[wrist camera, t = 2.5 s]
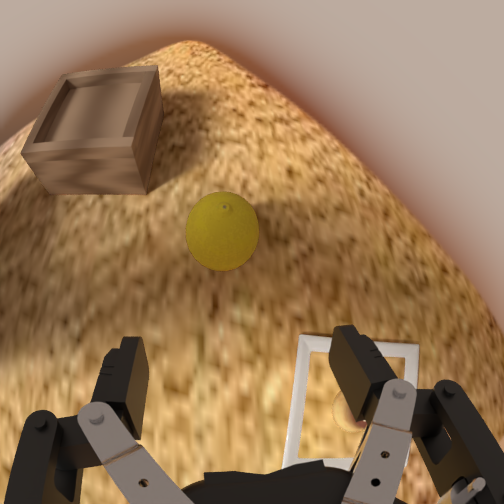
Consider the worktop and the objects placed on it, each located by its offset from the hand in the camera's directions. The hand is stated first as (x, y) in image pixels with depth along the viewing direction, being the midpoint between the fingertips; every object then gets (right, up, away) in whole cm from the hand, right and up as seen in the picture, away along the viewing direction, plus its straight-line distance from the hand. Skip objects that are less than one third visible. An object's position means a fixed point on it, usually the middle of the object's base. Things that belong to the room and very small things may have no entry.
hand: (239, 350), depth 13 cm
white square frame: (+9, -10, +12) cm, 18 cm away
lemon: (-2, +4, +15) cm, 16 cm away
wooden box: (-15, +15, +18) cm, 28 cm away
